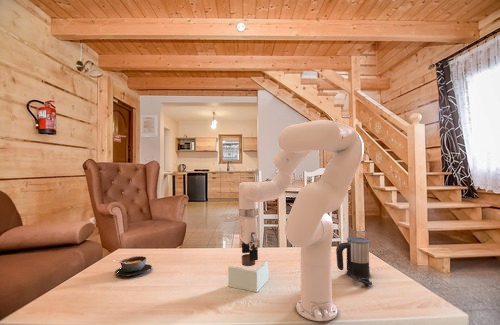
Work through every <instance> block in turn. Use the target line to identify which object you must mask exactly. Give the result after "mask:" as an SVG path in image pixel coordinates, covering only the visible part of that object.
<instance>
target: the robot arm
mask: <svg viewBox="0 0 500 325" xmlns="http://www.w3.org/2000/svg"><path fill="white" fill-rule="evenodd" d="M277 142H278V146H279V147H280V150H279V151H278V152H277V153H276V155H275V157H274V158H273V163H274V165H275V167H276V168H277V169H278V171H277V173H276V174H275V175H274V176H273V178H272V179H271V180H265V181H242V182H240V183H238V216H239V239H240V241H241V253H242V254H249V260H250V261H254V260H255V261H258V260H259V251H258V250H259V229H258V219H257V218H258V217H259V203H263V202H268V201H275V200H278V199H279V198H280V197H282V195H284V193H285V192H286V191H287V190H288V189H289V187H290V186H291V185H292V182H293V180H294V173H295V172H296V171H297V169H298V168H299V167H300V166H301V165H302V164H303V162H304V161H305V160H306V159H307V158H308V156H309V155H311V153H312V152H313V151H333V155H332V157H331V158H330V159H329V161H328V162H327V164H326V166H325V167H324V170H323V173H322V175H321V177H320V179H319V180H318V181H313V182H309V183H307V184H305V185H304V186H302V187H301V189H300V190H299V191H298V193H297V195H296V197H295V199H294V202H293V204H292V206H291V209H290V211H289V214H288V216H287V218H286V221H285V225H284V234H285V238H286V239H287V241H288V242H289V244H291V245H292V246H294V247H297V248H300V300H298V301H297V303H296V308H295V309H296V312H297V313H298V314H299V315H300V316H301V317H303V318H305V319H307V320H310V321H313V322H328V321H332V320H333V319H335V318H336V317H337V316H338V307H337V306H336V305H335V304H334V303H333V295H332V294H333V289H332V288H333V287H332V286H333V284H332V247H333V246H332V245H333V237H334V223H333V220H332V217H331V216H330V215H329V213H333V212H335V211H337V210H339V209H340V207H341V206H342V204H343V203H344V200H345V198H346V196H347V194H348V191H349V189H350V187H351V184H352V183H353V181H354V178H355V175H356V173H357V172H358V169H359V167H360V165H361V162H362V161H363V157H364V152H365V147H364V141H363V138H362V137H361V135H360V133H358V131H357V130H356V129H355V128H353V127H352V126H351V125H349V124H346V123H344V122H340V121H335V120H330V119H317V120H310V121H305V122H300V123H293V124H290V125H287V126H286V127H284V128H283V129H282V130H281V131H280V133H279V135H278V139H277Z"/></svg>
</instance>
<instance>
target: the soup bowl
mask: <svg viewBox="0 0 500 325" xmlns="http://www.w3.org/2000/svg"><path fill="white" fill-rule="evenodd" d="M111 261H112V262H116V263H120V266H121V267H119V268H117V269H115V271H114V273H115V275H117V276H122V277H128V278H129V277H132V276H137V275H141V274H144V273H147V272H149V271H150V270H151V269H152V268H153V266H152V265H151V264H146V263H147V257H146V256H143V255H141V256H132V257H131V256H130V257H127V258H125V259H122V260H120V261H118V260H113V259H112V260H111ZM120 268H121V269H120ZM118 271H119V272H118ZM117 272H118V273H117Z"/></svg>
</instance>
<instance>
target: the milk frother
mask: <svg viewBox="0 0 500 325" xmlns="http://www.w3.org/2000/svg"><path fill="white" fill-rule="evenodd" d="M346 241H347V242H341V243H339V244H337V246H336V249H335V254H336V266H337V269H338V270H340V271H343V270H344V255H343V254H344V250H345V249H346V275H348V276H349V277H351V278H352V279H354V280H356V281H358V282H359V283H361V284H362V285H365V286H366V287H368V286H372V285H373V281H372V280H370V277H371V274H370V242H371V240H370V239H368V238H365V237H361V236H349V237H346Z"/></svg>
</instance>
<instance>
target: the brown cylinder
mask: <svg viewBox="0 0 500 325" xmlns="http://www.w3.org/2000/svg"><path fill="white" fill-rule="evenodd" d="M241 265H242V266H244V267H253V266H255V265H256V260H254V261H250V260H249V253H244V254H242V255H241Z"/></svg>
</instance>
